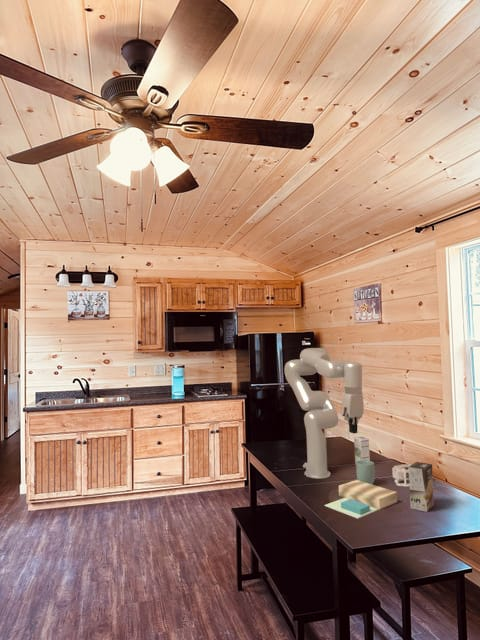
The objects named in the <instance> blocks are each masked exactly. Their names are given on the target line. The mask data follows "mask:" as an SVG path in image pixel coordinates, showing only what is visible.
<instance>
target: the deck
mask: <svg viewBox="0 0 480 640" xmlns="http://www.w3.org/2000/svg"><path fill="white" fill-rule="evenodd" d="M338 496H339V497H342V498H347V499H352V500H355V501H358V502H361V503H364V504H367V505H370V507H373V508H376V509H378V511H379V510H382V509H384V508H387V507H389V506H392V505H394V504H396V503H398V492H397V491H395V490H391V489H388V488H385V487H381V486H379V485H378V486H377V485H375V484H368V483H365V482H362V481H358V479H355V480H351V481H349V482H346V483H343V484H340V485H338Z"/></svg>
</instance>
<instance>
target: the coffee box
mask: <svg viewBox="0 0 480 640" xmlns="http://www.w3.org/2000/svg"><path fill="white" fill-rule="evenodd" d="M411 464H412V465H411V466H409V469H408V470H409V473H408V478H410V480H409V484H410V486H409V499H410V503H409V504H410V506H409V507H410V509H412V510H416V511H420V512H425V513H427V512H428V511H429V510H430V509H431V508H432V507H433V506H434V503H435V502H434V483H433V481H434V480H433V477H434V476H433V464H432V463H426V462H418V461H416V462H414V463H411Z"/></svg>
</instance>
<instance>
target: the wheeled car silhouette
mask: <svg viewBox="0 0 480 640" xmlns="http://www.w3.org/2000/svg"><path fill="white" fill-rule="evenodd" d="M412 464H413V463H411V464H410V463H407V464H406V463H405V464H397V465H394V466H393V467H392V468H391V470H392V478H393V479H394V483H395V485H396V486H398V487H410V483H407V481H410V478H409V477H407V473H408V474H409V466H411V465H412ZM406 468H408V469H406ZM402 481H403V482H404V483H399V482H402Z"/></svg>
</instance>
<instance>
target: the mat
mask: <svg viewBox="0 0 480 640" xmlns="http://www.w3.org/2000/svg"><path fill="white" fill-rule="evenodd" d="M347 500H349V499H348V498H345V497H342V498H340V499H337V500H335V501H332V502H329V503H326V504H324V507H327V508H328V509H332V510H334V511H337V512H339V513H342V514H345V515H346V516H347V515H348V516H350V517H352V518H355V519H361V518H362V517H365V516H368V515H370V514H372V513H375V512H377V511H379V509H377V508H374V507H371V506H370V511H368V512H366V513H364V514H361V515H359V514H357V513H354V512H351V511H348V510H346V509H343V508H341V502H344V501H347Z"/></svg>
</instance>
